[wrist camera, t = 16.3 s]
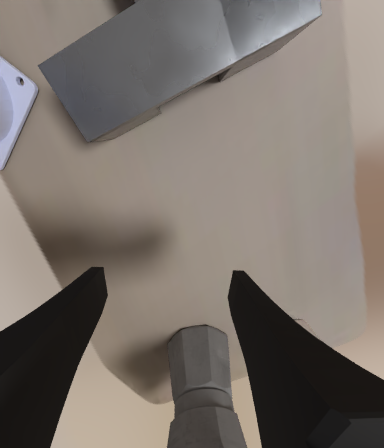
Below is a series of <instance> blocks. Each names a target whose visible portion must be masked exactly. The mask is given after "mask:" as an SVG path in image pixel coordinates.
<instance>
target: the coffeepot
mask: <svg viewBox="0 0 384 448" xmlns="http://www.w3.org/2000/svg"><path fill="white" fill-rule="evenodd" d="M167 346H168V356H169V366H170V376H171V386H172V396H173V400H174V404H175V419H174V420H173V421H172V422H171V424H170V431H169V438H168V445H167V448H247V445H246V442H245V439H244V436H243V432H242V429H241V426H240V422H239V419H238V416H237V414H236V413H235V412H234V408H233V402H232V390H231V376H230V361H229V347H228V339H227V335H226V334H225V333H223V332H222V331H220V330H219V329H217V328H214V327H211V326H203V325H199V326H192V327H188V328H185V329H182V330H181V331H179V332H177V333H176V334H175V335H174V336H173V337H172V339H171V341H170V342H169V343H168V344H167Z"/></svg>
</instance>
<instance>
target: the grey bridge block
mask: <svg viewBox="0 0 384 448" xmlns="http://www.w3.org/2000/svg"><path fill="white" fill-rule="evenodd" d="M321 15H322V11H321V2H320V0H140V1H138V2H136V3H135V4H133V5H132V6H130V7H129V8H127V9H125V10H124V11H122V12H121V13H119V14H118V15H116V16H115V17H113V18H111V19H110V20H108V21H107V22H105V23H104V24H102V25H100V26H99V27H97V28H96V29H94V30H93V31H91V32H89V33H88V34H86V35H85V36H83V37H82V38H80V39H79V40H77V41H75V42H74V43H72V44H71V45H69V46H68V47H66V48H64V49H63V50H61V51H60V52H58V53H57V54H55V55H54V56H52V57H50V58H49V59H47V60H46V61H44V62H43V63H41V64H39V65H38V67H39V69H40V70H41V72H42V73H43V75H44V76H45V78H46V79H47V81H48V82H49V84H50V86H51V87H52V89H53V90H54V92H55V93H56V95H57V96H58V98H59V99H60V101H61V102H62V104H63V106H64V107H65V109H66V110H67V112H68V113H69V115H70V116H71V118H72V119H73V121H74V122H75V124H76V126H77V127H78V129H79V130H80V132H81V133H82V135H83V136H84V138H85V139H86V141H87V142H94V141H102V140H110V139H115V138H116V137H118V136H120V135H122V134H124V133H126V132H128V131H130V130H131V129H133V128H135V127H137V126H139V125H141V124H143V123H144V122H146V121H148V120H150V119H152V118H154V117H156V116H158V115H159V114H161V111H160V109H159V106H161V105H162V104H164V103H166V102H168V101H170V100H172V99H173V98H175V97H177V96H179V95H181V94H183V93H185V92H186V91H188V90H190V89H192V88H194V87H196V86H197V85H199V84H201V83H203V82H205V81H207V80H209V79H210V78H212V77H214V76H216V75H218V78H219V81H220V82H221V81H223V80H225V79H227V78H229V77H230V76H232V75H234V74H236V73H238V72H240V71H242V70H243V69H245V68H247V67H249V66H251V65H253V64H255V63H257V62H258V61H260V60H262V59H264V58H266V57H268V56H270V55H271V54H273V53H275V52H277V51H278V50H280V49H281V48H282V47H283V46H284V45H286V44H287V43H288V42H289V41H290V40H292V39H293V38H294V37H295V36H297V35H298V34H299V33H300V32H301V31H303V30H304V29H305V28H306V27H308V26H309V25H310V24H311V23H312V22H314V21H315V20H316V19H317V18H318V17H320V16H321Z"/></svg>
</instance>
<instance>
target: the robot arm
mask: <svg viewBox="0 0 384 448" xmlns="http://www.w3.org/2000/svg"><path fill="white" fill-rule="evenodd" d="M21 78H22V79H23V81H24V85H23V86H22V85H21V83H20V79H21ZM37 93H38V87H37V85H36V84H35V83H34V82H33V81H32V80H31V79H29V78H28V77H27V76H26V75H24V74H23V73H22V72H21V71H19V70H18V69H17V68H15V67H14V66H13V65H12V64H10V63H9V62H8V61H7V60H5V59H4V58H3V57H1V56H0V170H2V169H3V168H4V167H5V164H6V162H7V160H8V158H9V156H10V153H11V151H12V149H13V147H14V144H15V142H16V140H17V138H18V136H19V133H20V131H21V129H22V127H23V124H24V122H25V120H26V118H27V116H28V113H29V111H30V109H31V107H32V104H33V102H34V100H35V98H36V96H37ZM107 296H108V294H107V287H106V281H105V275H104V268H103V267H91V268H90V269H88V270H87V271H86V272H84V273H83V274H82V275H81V276H79V277H78V278H77V279H76V280H74V281H73V282H72V283H71V284H69V285H68V286H67V287H65V288H64V289H63V290H62V291H60V292H59V293H58V294H56V295H55V296H53V297H52V298H51V299H49V300H48V301H47V302H45V303H44V304H42V305H41V306H40V307H38V308H37V309H35V310H34V311H32V312H31V313H29V314H28V315H26V316H25V317H23V318H22V319H20V320H18V321H17V322H15V323H14V324H12V325H10V326H9V327H7V328H5V329H4V330H2V331H0V448H50V446H51V443H52V440H53V437H54V434H55V431H56V428H57V424H58V421H59V418H60V415H61V413H62V410H63V407H64V404H65V401H66V398H67V395H68V392H69V389H70V386H71V383H72V381H73V378H74V375H75V373H76V370H77V367H78V365H79V362H80V360H81V358H82V356H83V353H84V351H85V349H86V347H87V345H88V343H89V340H90V338H91V336H92V334H93V332H94V330H95V328H96V325H97V323H98V321H99V319H100V317H101V314H102V312H103V309H104V306H105V302H106V299H107ZM228 301H229V307H230V312H231V316H232V320H233V323H234V326H235V330H236V333H237V336H238V339H239V343H240V346H241V349H242V352H243V356H244V359H245V363H246V367H247V372H248V377H249V381H250V385H251V390H252V396H253V401H254V406H255V411H256V416H257V422H258V428H259V433H260V439H261V445H262V448H384V380H383V379H381V378H379V377H377V376H376V375H374V374H372V373H370V372H369V371H367V370H365V369H363V368H362V367H360V366H359V365H357V364H355V363H354V362H352V361H351V360H349V359H347V358H346V357H344V356H343V355H341V354H340V353H338V352H337V351H335V350H333V349H332V348H331V347H329V346H328V345H326V344H325V343H324V342H322V341H321V340H319V339H318V338H317V337H315V336H314V335H312V334H311V333H310V332H308V331H307V330H306V329H305V328H303V327H302V326H301V325H300V324H298V323H297V322H296V321H295V320H293V319H292V318H291V317H290V316H289V315H288V314H286V313H285V312H284V311H283V310H282V309H281V308H280V307H279V306H278V305H277V304H275V303H274V302H273V301H272V300H271V299H270V298H269V297H268V296H267V295H266V294H265V293H264V292H263V291H262V290H261V289H260V288H259V286H258V285H257V284H256V283H255V282H254V281H253V280H252V279H251V278H250V277H249V276H248V275H247V274H246V273H245V272H244V271H236V270H233V274H232V279H231V284H230V289H229V294H228Z"/></svg>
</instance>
